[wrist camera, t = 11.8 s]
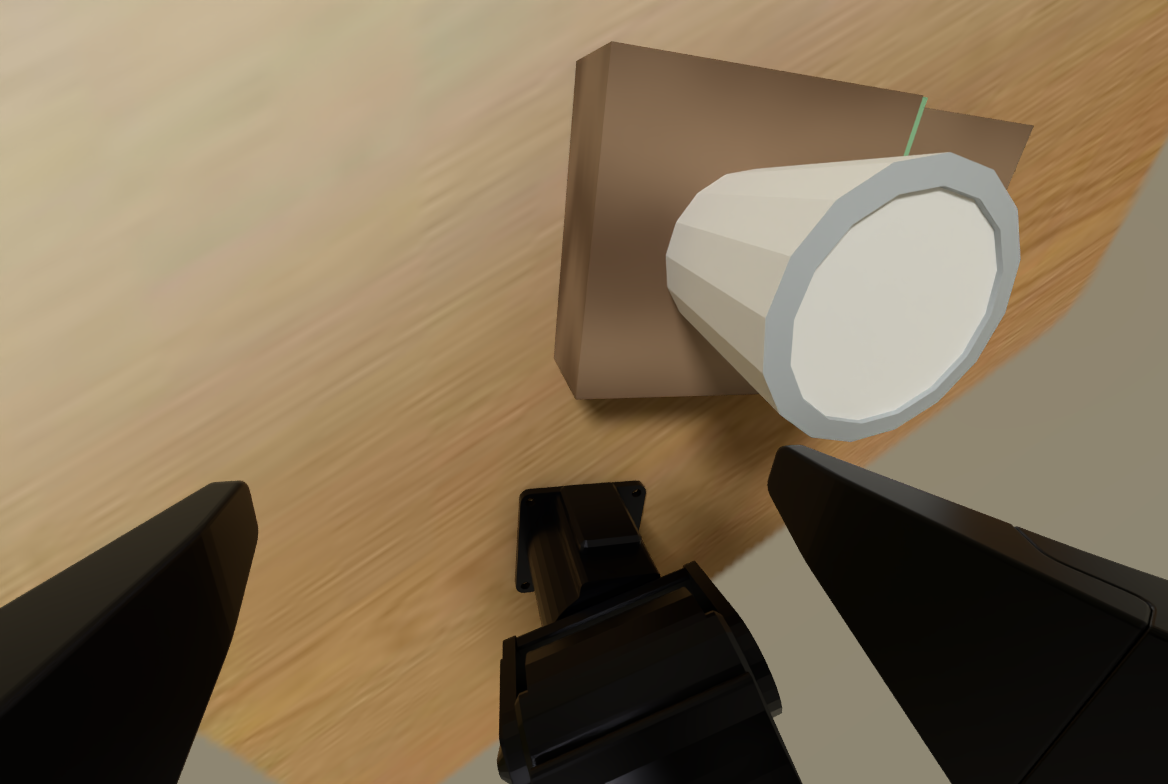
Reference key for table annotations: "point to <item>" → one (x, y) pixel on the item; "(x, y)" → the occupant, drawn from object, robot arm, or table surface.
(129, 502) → the table surface
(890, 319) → the white tapered cup
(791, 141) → the stepped riser
